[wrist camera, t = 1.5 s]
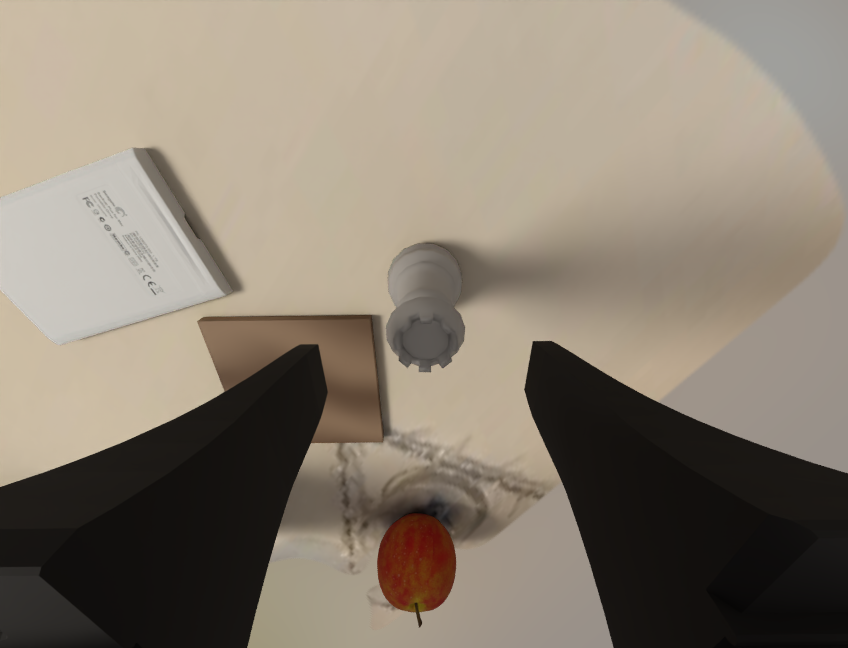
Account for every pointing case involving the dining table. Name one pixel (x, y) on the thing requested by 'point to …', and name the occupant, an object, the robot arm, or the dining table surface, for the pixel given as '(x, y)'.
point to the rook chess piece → (425, 306)
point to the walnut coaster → (340, 353)
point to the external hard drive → (102, 250)
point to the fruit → (416, 563)
